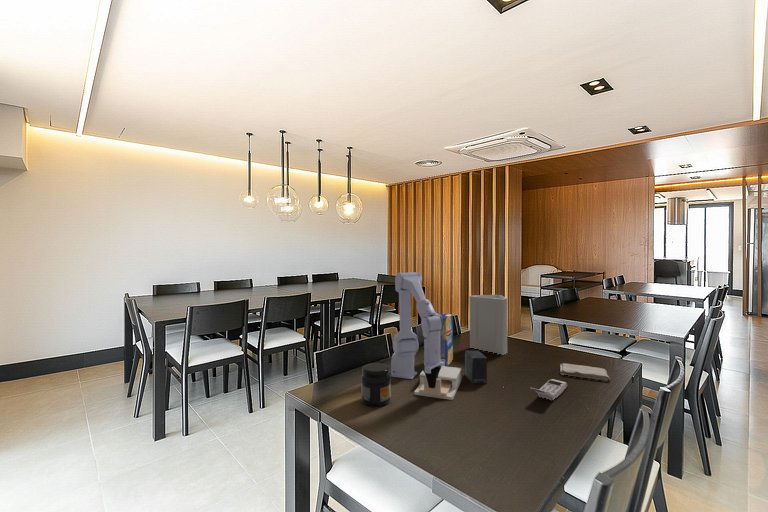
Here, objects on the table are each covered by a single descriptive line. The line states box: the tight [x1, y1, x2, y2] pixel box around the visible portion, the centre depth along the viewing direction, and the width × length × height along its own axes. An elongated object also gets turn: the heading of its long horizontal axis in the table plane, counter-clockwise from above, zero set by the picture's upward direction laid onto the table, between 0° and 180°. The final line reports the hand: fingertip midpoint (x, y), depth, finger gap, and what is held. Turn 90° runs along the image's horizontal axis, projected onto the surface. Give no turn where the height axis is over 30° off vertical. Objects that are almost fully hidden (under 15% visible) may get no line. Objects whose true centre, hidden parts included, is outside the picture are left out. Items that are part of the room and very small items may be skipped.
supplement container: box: [360, 362, 392, 407], centre depth 126 cm, size 10×10×12 cm
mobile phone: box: [529, 378, 568, 401], centre depth 130 cm, size 6×6×25 cm
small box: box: [464, 350, 488, 385], centre depth 146 cm, size 11×6×10 cm, turn 3°
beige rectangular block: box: [419, 377, 452, 396], centre depth 135 cm, size 10×16×6 cm, turn 159°
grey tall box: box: [469, 294, 508, 356], centre depth 190 cm, size 19×15×28 cm
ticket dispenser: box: [413, 366, 463, 401], centre depth 138 cm, size 14×20×5 cm
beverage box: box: [438, 313, 454, 367], centre depth 167 cm, size 7×11×22 cm, turn 153°
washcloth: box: [559, 362, 611, 381], centre depth 151 cm, size 12×18×3 cm, turn 64°
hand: (432, 387), depth 128 cm, fingers closed, pressing on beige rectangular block
